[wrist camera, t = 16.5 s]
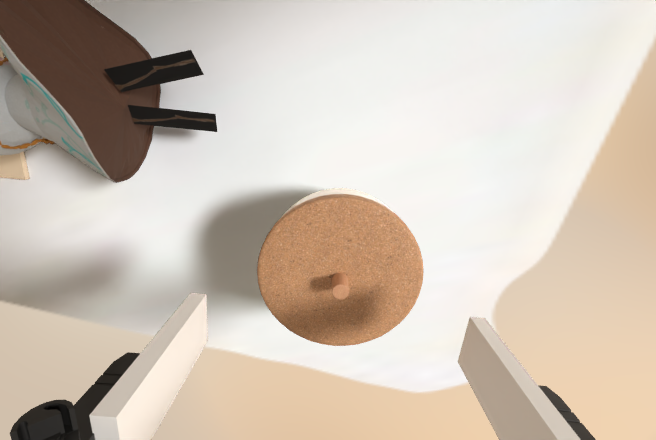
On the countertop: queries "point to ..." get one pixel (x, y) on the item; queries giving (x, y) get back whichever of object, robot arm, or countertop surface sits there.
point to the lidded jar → (340, 268)
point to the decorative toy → (84, 86)
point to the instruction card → (13, 162)
